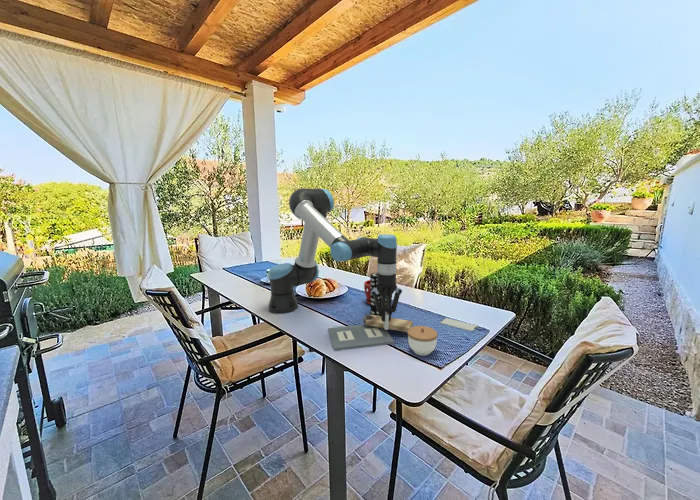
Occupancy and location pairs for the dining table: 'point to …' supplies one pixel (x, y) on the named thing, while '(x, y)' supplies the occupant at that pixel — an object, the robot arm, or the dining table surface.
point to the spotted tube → (372, 286)
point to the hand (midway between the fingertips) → (386, 328)
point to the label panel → (358, 337)
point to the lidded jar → (422, 339)
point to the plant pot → (367, 293)
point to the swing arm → (393, 324)
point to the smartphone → (459, 324)
